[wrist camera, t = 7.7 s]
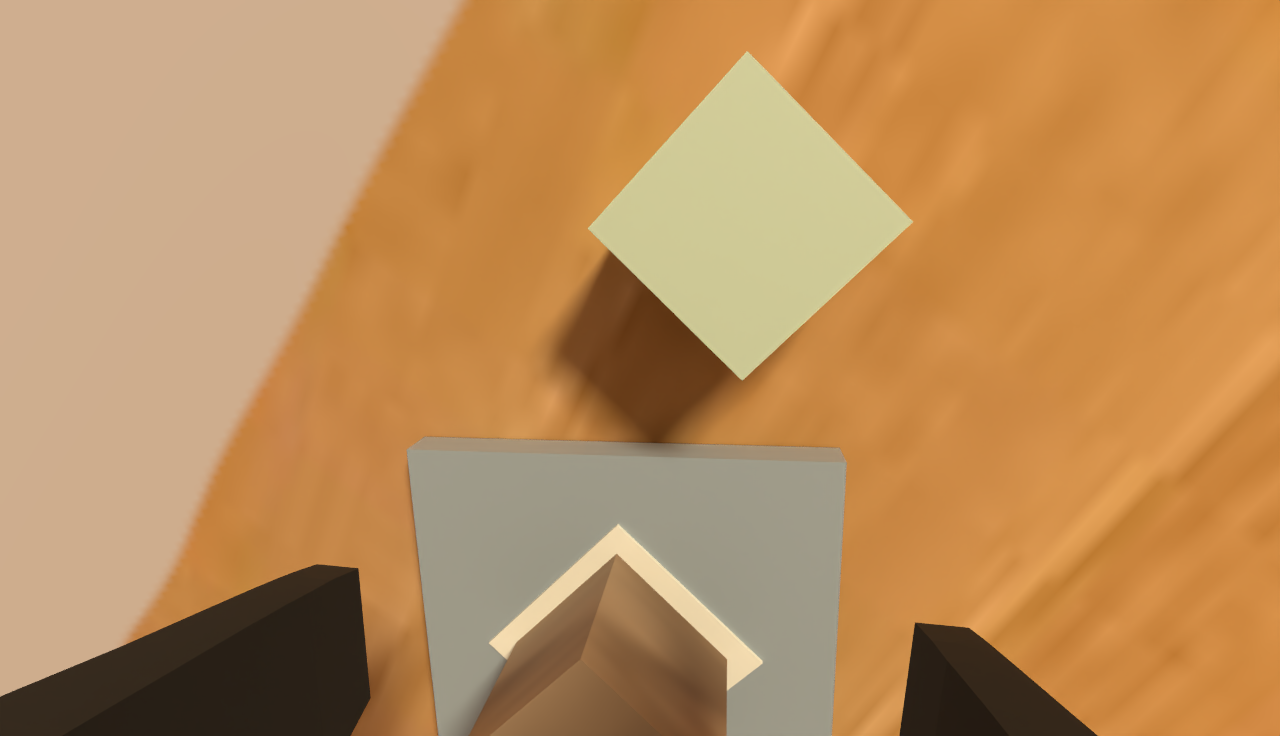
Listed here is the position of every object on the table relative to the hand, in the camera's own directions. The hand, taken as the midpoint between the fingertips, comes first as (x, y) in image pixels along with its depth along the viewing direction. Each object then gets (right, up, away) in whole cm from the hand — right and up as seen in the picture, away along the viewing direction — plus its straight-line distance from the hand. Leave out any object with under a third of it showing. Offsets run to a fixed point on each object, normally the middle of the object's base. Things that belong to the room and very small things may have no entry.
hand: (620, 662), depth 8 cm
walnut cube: (0, -4, +9) cm, 9 cm away
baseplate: (0, -4, +10) cm, 10 cm away
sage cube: (+3, +7, +7) cm, 10 cm away
